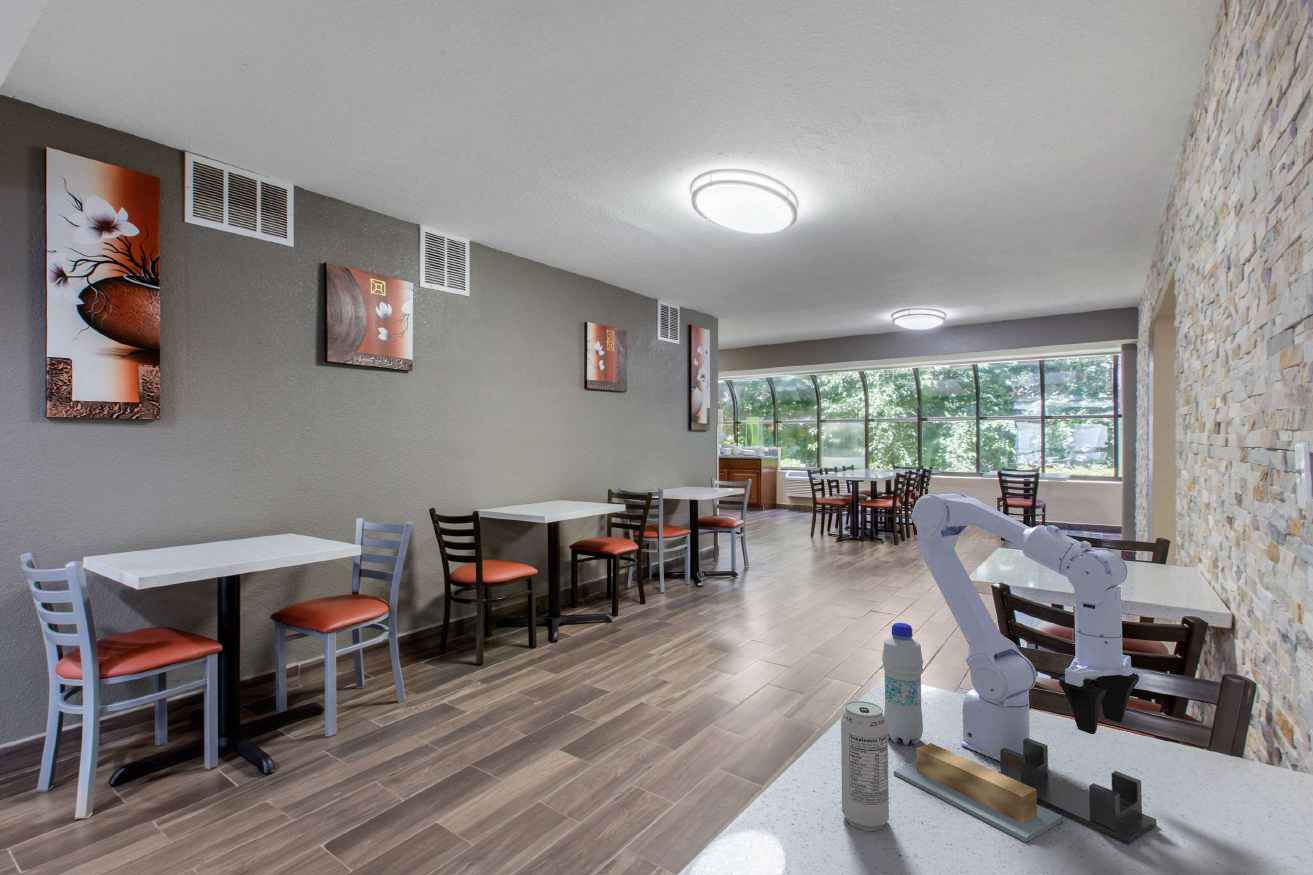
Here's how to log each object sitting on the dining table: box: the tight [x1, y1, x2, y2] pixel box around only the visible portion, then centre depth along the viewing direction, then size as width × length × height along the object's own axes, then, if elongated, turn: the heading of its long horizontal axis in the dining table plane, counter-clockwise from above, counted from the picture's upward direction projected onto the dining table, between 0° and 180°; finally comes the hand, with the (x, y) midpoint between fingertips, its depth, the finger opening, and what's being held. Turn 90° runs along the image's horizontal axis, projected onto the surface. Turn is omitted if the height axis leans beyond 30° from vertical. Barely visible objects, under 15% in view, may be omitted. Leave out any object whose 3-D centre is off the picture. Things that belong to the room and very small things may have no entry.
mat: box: [893, 760, 1064, 843], centre depth 91 cm, size 20×9×1 cm, turn 31°
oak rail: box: [916, 742, 1038, 823], centre depth 91 cm, size 16×4×4 cm, turn 31°
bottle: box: [881, 622, 924, 746], centre depth 109 cm, size 7×7×20 cm
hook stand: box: [998, 738, 1157, 845], centre depth 89 cm, size 18×8×5 cm, turn 31°
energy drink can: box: [840, 700, 890, 832], centre depth 85 cm, size 6×6×15 cm
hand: (1100, 725), depth 92 cm, fingers open, 7 cm apart
